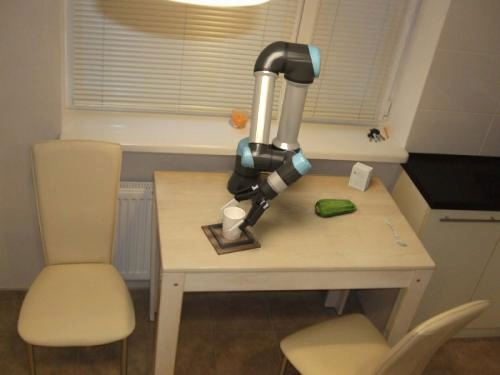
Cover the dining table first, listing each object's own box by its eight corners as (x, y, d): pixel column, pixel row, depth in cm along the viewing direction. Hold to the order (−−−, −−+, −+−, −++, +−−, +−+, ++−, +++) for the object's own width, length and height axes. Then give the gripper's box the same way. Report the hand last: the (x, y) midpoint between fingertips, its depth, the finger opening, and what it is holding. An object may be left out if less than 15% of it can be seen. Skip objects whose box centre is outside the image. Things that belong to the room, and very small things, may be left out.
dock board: (201, 227, 204) (201, 222, 203) (241, 221, 212) (242, 216, 211) (218, 255, 192) (219, 249, 191) (260, 247, 199) (261, 242, 198)
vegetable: (317, 196, 221) (357, 192, 229) (309, 205, 226) (349, 200, 235) (323, 212, 217) (364, 207, 226) (315, 220, 223) (355, 215, 231)
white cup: (217, 229, 204) (220, 207, 198) (237, 227, 206) (241, 205, 201) (224, 242, 197) (227, 219, 192) (244, 240, 200) (248, 217, 195)
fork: (385, 213, 234) (386, 210, 233) (407, 248, 214) (408, 244, 213) (378, 213, 233) (379, 209, 232) (399, 248, 213) (400, 244, 212)
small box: (368, 187, 251) (373, 167, 245) (363, 192, 247) (369, 172, 241) (352, 181, 254) (357, 161, 249) (347, 185, 250) (353, 165, 244)
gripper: (289, 211, 187) (241, 248, 190) (268, 174, 207) (225, 208, 210) (277, 198, 182) (228, 236, 185) (257, 162, 202) (213, 197, 206)
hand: (226, 221), depth 198 cm, fingers open, 13 cm apart
